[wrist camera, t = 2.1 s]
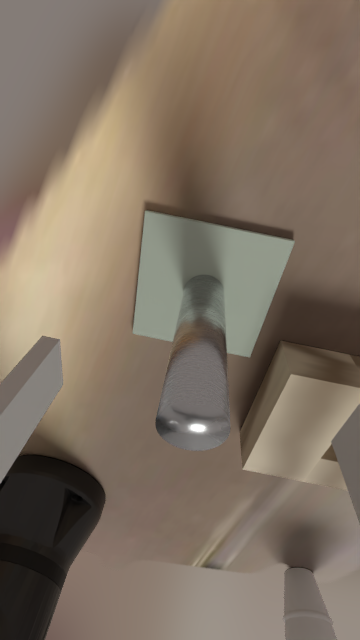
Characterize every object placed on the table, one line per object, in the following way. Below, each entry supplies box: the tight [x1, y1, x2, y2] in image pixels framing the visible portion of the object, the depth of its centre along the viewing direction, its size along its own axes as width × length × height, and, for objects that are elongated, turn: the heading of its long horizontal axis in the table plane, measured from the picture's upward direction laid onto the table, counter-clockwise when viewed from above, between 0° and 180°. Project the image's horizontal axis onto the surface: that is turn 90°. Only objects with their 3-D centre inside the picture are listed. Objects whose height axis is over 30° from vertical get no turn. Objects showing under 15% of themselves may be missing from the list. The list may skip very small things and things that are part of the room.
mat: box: [133, 210, 295, 357], centre depth 22 cm, size 10×10×1 cm
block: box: [240, 341, 360, 491], centre depth 25 cm, size 16×12×4 cm
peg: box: [156, 275, 230, 451], centre depth 17 cm, size 3×3×12 cm
